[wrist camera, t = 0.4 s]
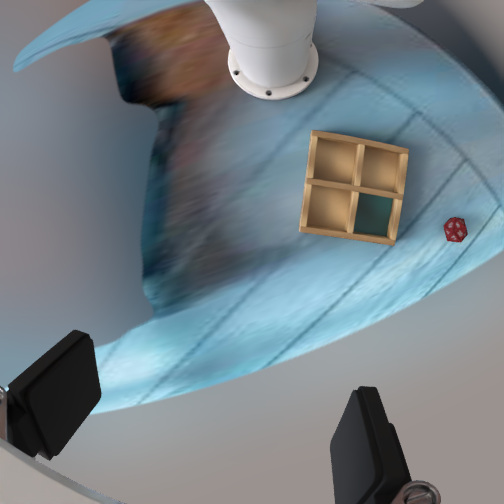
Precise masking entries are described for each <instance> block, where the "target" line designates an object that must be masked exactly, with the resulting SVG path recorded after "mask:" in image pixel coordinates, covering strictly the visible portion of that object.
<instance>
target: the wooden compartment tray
mask: <svg viewBox="0 0 504 504" xmlns="http://www.w3.org/2000/svg"><path fill="white" fill-rule="evenodd" d="M408 154H409V149H407V148H403V147H399V146H394V145H390V144H386V143H381V142H377V141H372V140H367V139H362V138H357V137H352V136H347V135H341V134H335V133H329V132H323V131H317V130H312V132H311V135H310V144H309V153H308V161H307V170H306V178H305V186H304V193H303V201H302V209H301V216H300V223H299V231H300V232H304V233H311V234H319V235H326V236H333V237H339V238H346V239H353V240H360V241H366V242H373V243H379V244H386V245H392V246H394V245H395V240H396V236H397V230H398V225H399V219H400V214H401V207H402V200H403V194H404V187H405V180H406V172H407V164H408Z"/></svg>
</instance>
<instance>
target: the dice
mask: <svg viewBox="0 0 504 504" xmlns="http://www.w3.org/2000/svg"><path fill="white" fill-rule="evenodd" d="M443 226H444V230H445V234H446V238H447V241H452V242H462V241H463V239H464V238H465V237H466V236H467V235H468V233H467V229H466V225H465V221H464V219H461V218H456V217H454V218H450V219H449V220H448V221H447V222H446V223H445V224H444V225H443Z"/></svg>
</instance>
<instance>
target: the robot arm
mask: <svg viewBox="0 0 504 504" xmlns="http://www.w3.org/2000/svg"><path fill="white" fill-rule="evenodd" d="M204 1H205V2H206V3H207V4H208V5H209V6H210V8H211V9H212V11H213V12H214V14H215V16H216V18H217V20H218V22H219V24H220V26H221V28H222V30H223V32H224V34H225V36H226V39H227V41H228V43H229V45H230V47H231V48H230V51H229V55H228V66H229V70H230V73H231V75H232V77H233V79H234V81H235V82H236V83H237V84H238V85H239V87H240V88H242V89H243V90H244V91H245V92H247V93H249V94H251V95H253V96H255V97H258V98H261V99H267V100H281V99H287V98H290V97H293V96H295V95H297V94H299V93H300V92H302V91H304V90H305V89H306V88H307V87H308V86H309V85H310V84H311V82H312V81H313V79H314V77H315V75H316V73H317V69H318V61H319V59H318V53H317V50H316V47H315V45H314V44H313V42H312V41H311V40H312V35H313V29H314V24H315V18H316V13H317V0H204ZM349 1H356V2H362V3H369V4H375V5H380V6H387V7H393V8H409V7H413V6H416V5H418V4H420V3H421V2H423V1H424V0H349ZM237 73H239V75H236V74H237ZM305 79H306V80H307V82H305V81H304V80H305ZM268 93H271V95H270V96H268V95H267V94H268ZM8 388H9V390H8V391H7V392H6V391H5V389H4V388H3V387H1V386H0V504H125V503H122V502H120V501H117V500H115V499H112V498H110V497H107V496H105V495H103V494H101V493H98V492H96V491H94V490H91V489H89V488H87V487H85V486H83V485H81V484H79V483H77V482H75V481H73V480H71V479H69V478H67V477H65V476H63V475H61V474H59V473H57V472H56V471H54V470H52V469H50V468H48V467H47V466H45V465H43V464H42V463H39V462H38V461H36V460H35V456H36V455H37V453H38V454H39V455H41V456H42V457H44V458H46V459H47V460H49V461H50V460H51V459H52V457H53V456H57V455H58V454H59V453H60V452H61V451H62V449H63V448H64V447H65V445H66V444H67V443H68V441H69V440H70V439H71V437H72V436H73V435H74V433H75V432H76V430H77V429H78V428H79V427H80V425H81V424H82V422H83V421H84V420H85V419H86V418H87V416H88V415H89V414H90V412H91V411H92V410H93V408H94V407H95V406H96V405H97V403H98V402H99V400H100V398H101V388H100V383H99V377H98V371H97V365H96V358H95V351H94V345H93V340H92V339H90V336H89V334H87V333H84V332H81V331H78V330H73V331H72V332H70V333H69V334H68V335H67V336H66V337H64V338H63V339H62V340H61V341H60V342H58V343H57V344H56V345H55V346H53V347H52V348H51V349H50V350H49V351H47V352H46V353H45V354H44V355H43V356H41V357H40V358H39V359H38V360H37V361H35V362H34V363H33V364H32V365H31V366H30V367H28V368H27V369H26V370H25V371H24V372H23V373H21V374H20V375H19V376H18V377H17V378H16V379H14V380H13V381H12V382H11V383H10V384H9V385H8ZM330 453H331V463H332V473H333V484H334V496H335V504H440V502H441V497H440V494H439V491H438V490H437V489H436V487H435V486H433V485H432V484H430V483H429V482H425V481H418V480H416V481H412V480H411V476H410V473H409V470H408V467H407V463H406V460H405V457H404V454H403V451H402V448H401V445H400V442H399V439H398V436H397V433H396V430H395V427H394V425H393V424H392V423H389V422H388V419H387V416H386V413H385V410H384V407H383V404H382V402H381V399H380V396H379V393H378V390H377V388H376V387H365V386H360V387H359V388H358V390H353V392H352V394H351V396H350V399H349V401H348V404H347V406H346V408H345V411H344V413H343V415H342V418H341V420H340V422H339V424H338V427H337V429H336V431H335V433H334V435H333V438H332V440H331V444H330Z"/></svg>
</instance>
